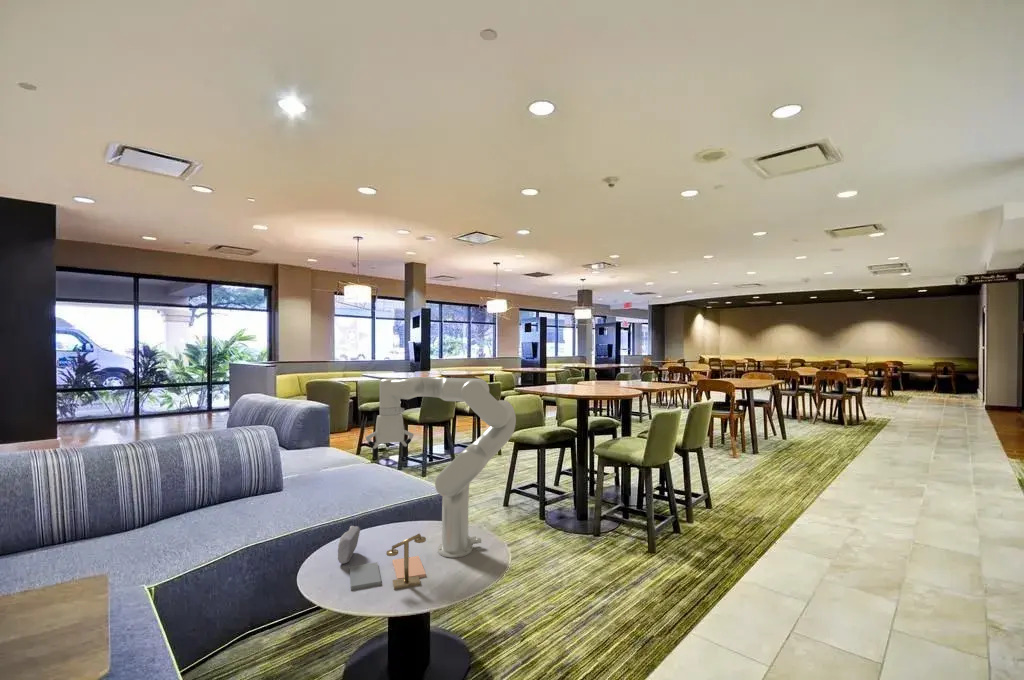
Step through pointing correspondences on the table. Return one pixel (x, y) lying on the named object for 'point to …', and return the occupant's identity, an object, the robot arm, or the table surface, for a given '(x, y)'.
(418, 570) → the terracotta mat
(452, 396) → the robot arm
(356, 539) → the stone block
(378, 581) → the slate mat
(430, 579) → the table surface
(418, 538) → the balance
